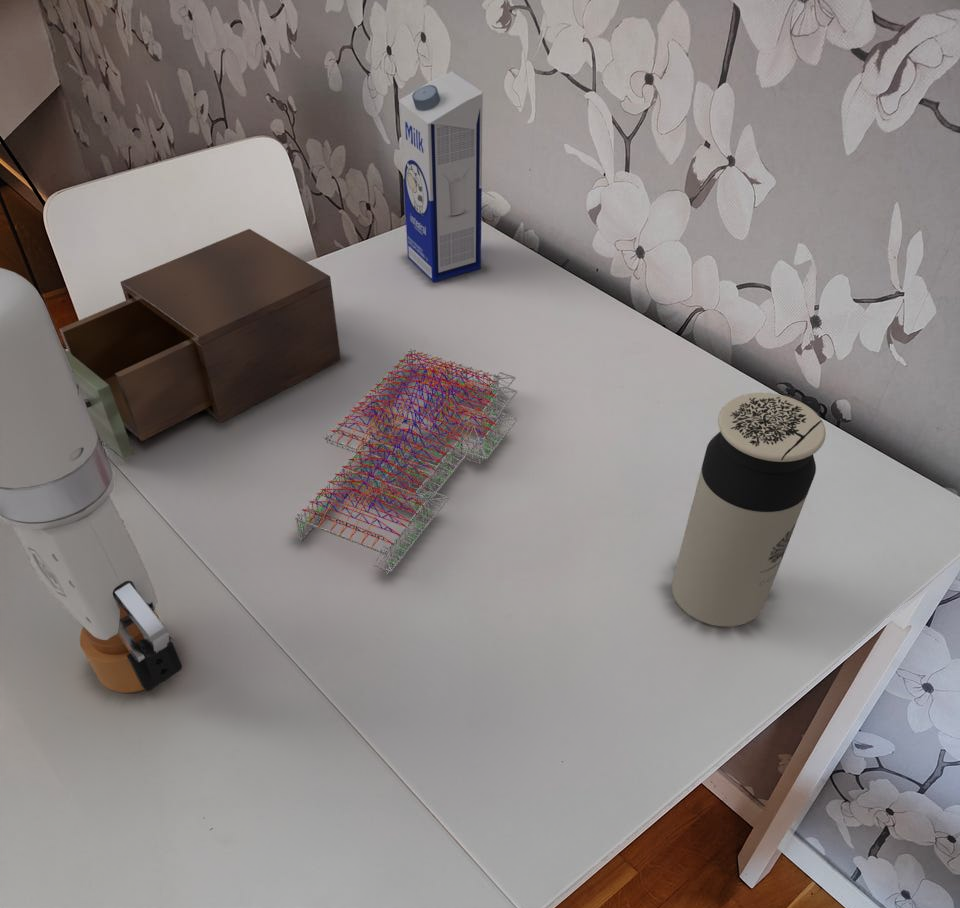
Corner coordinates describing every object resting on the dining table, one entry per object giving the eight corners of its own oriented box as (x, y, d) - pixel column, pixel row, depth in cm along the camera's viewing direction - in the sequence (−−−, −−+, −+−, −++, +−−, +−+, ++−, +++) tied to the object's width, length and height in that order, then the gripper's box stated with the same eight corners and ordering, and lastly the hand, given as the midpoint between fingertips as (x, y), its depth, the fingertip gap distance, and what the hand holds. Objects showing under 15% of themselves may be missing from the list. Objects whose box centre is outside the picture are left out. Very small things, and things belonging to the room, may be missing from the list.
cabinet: (220, 423, 92) (198, 337, 84) (146, 366, 98) (119, 281, 90) (341, 360, 99) (330, 276, 91) (265, 311, 105) (249, 228, 97)
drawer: (77, 483, 84) (46, 414, 78) (12, 423, 90) (-21, 354, 84) (248, 395, 93) (233, 327, 87) (180, 345, 98) (161, 278, 92)
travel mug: (651, 589, 78) (692, 418, 64) (712, 547, 81) (763, 376, 67) (722, 644, 74) (782, 475, 60) (783, 598, 77) (853, 428, 63)
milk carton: (481, 269, 111) (483, 90, 96) (433, 283, 109) (427, 103, 93) (453, 244, 115) (451, 68, 99) (407, 257, 113) (397, 79, 97)
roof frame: (399, 592, 77) (395, 550, 73) (254, 535, 81) (243, 492, 77) (542, 403, 94) (546, 360, 90) (417, 364, 98) (414, 321, 94)
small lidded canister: (80, 669, 72) (58, 629, 68) (138, 623, 75) (120, 582, 71) (131, 705, 69) (111, 666, 66) (189, 655, 73) (173, 615, 69)
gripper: (-72, 437, 59) (30, 609, 72) (60, 572, 51) (146, 737, 64) (34, 389, 62) (113, 562, 76) (173, 509, 55) (233, 678, 68)
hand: (128, 642), depth 70 cm, fingers open, 9 cm apart
